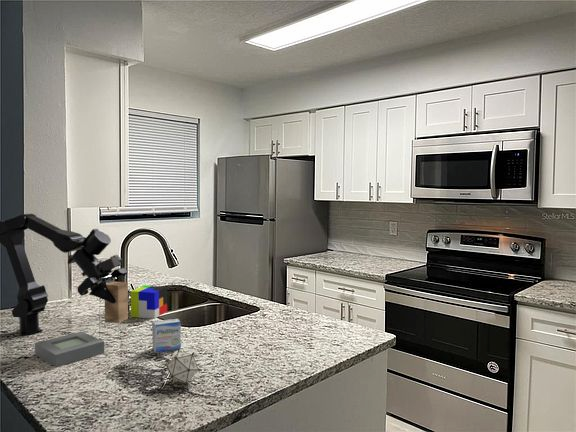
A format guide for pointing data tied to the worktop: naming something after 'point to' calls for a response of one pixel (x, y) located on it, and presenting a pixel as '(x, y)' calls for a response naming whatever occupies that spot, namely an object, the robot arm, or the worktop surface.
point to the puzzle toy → (148, 301)
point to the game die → (182, 367)
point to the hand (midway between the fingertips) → (120, 300)
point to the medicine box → (166, 335)
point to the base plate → (69, 348)
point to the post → (117, 302)
